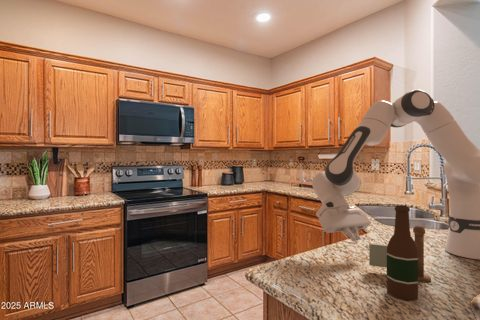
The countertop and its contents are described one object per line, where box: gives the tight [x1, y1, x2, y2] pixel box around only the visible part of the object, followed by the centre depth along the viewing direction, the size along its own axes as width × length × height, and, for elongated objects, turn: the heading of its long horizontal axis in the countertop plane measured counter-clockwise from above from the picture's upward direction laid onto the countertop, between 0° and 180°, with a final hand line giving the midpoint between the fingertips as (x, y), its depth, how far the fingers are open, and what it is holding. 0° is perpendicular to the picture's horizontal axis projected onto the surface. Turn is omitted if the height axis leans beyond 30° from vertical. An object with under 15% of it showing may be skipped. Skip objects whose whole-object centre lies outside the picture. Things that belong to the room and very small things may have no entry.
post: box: [412, 225, 432, 283], centre depth 84 cm, size 6×6×16 cm
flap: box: [368, 242, 388, 269], centre depth 87 cm, size 12×1×7 cm, turn 68°
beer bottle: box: [386, 204, 419, 302], centre depth 74 cm, size 8×8×24 cm
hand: (356, 239), depth 97 cm, fingers closed
